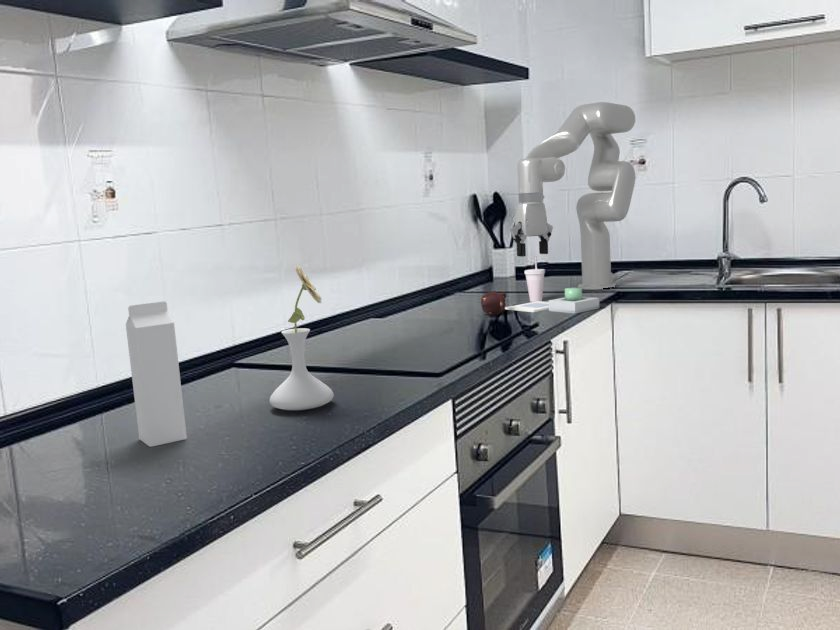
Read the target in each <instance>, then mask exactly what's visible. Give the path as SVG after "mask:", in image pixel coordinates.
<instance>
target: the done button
mask: <svg viewBox="0 0 840 630" xmlns="http://www.w3.org/2000/svg"><path fill="white" fill-rule="evenodd" d="M582 297H583V289H582V288H579V287H578V286H577V287H566V288H564V298H565V301H579V300H582Z"/></svg>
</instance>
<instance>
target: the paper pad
mask: <svg viewBox="0 0 840 630" xmlns="http://www.w3.org/2000/svg"><path fill="white" fill-rule="evenodd" d="M504 310H509V311H516V312H517V311H518V312H526V313H527V312H528V313H537V312H543V311H549V301H543V300H542V301H536V302H526V303H521V304H515V305H509V306H505V308H504Z"/></svg>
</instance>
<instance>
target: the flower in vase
mask: <svg viewBox="0 0 840 630" xmlns="http://www.w3.org/2000/svg"><path fill="white" fill-rule="evenodd" d="M294 268H295V269H294V270H295V272H296V274H297V276H298V278H299V279H300V281H301V283H302V284H301V289H300V290H299V293H298V296H297V298H296V300H295V301H296V302H295V305H294V311H293V313H292V315H291V316H290V317H289V319H288V320H287V322H289V323H292V324H294V328H290V329H289V328H288V329H285V330H282V331H281V335H283V337H285V339H286V341H287V343H288V346H289V349H290V355H291V363H292V367H291V371H290V374H289V376H288V377H287V378H286V379H285V380H284V381H283V382H282V383H280V384H279V386H278V387H277V388H276V389H275V390H274V391H273V393H272V394H271V395H270V397H269V404H270V405H271V406H272V407H273V408H277V409H279V410H283V411H305V410H306V411H307V410H312V409H316V408H319V407H323V406H325V405H326V404H328V403H330V402H332V400H333V398H334V396H335V394H334V392H333V389H332V388H330V387H329V386H328V385H327V384H325V383H324V382H322V381H321V380H320V379H318V378H316V377H315V376H313V375H312V374H311V373H310V372H309V371H308V370H309V369H307V365H306V360H305V347H306V340H307V337H308V334H309V333H310V332H311V329H310V328H302V327H300V328H299V327H297V322H299V321H300V320H301V321H304V320H305V315H304V313H303V311H302V310H301V309H300V307H298V303H299V301H300V298H301V296H302V293H303V291H307V292H308V293H309V295H310V296H311V297H312V298H313V300H315V301H316V302H317V303H318V304H322V297H321V295H319V293H318V292H317V289H316V287H315V286H314V284H311V282H310V279H309V277H308V275H307V274H306V273H305V274H304V272H303V269H302V267H301V266H300V265H299V266H298V265H295V267H294Z"/></svg>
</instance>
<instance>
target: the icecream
mask: <svg viewBox="0 0 840 630" xmlns="http://www.w3.org/2000/svg"><path fill="white" fill-rule="evenodd" d="M506 298H507V293H506V292H500V293H499V292H496V291H489V292H487V293H485V294H484V295H483V296H482V297H481V298H480V305H481V308H482V309H481V310H482V311H483V312H484V313H485V314H486V315H488V316H499V315H500V314H501V313H502V312H504V310H505V307H507V304H506Z"/></svg>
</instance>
